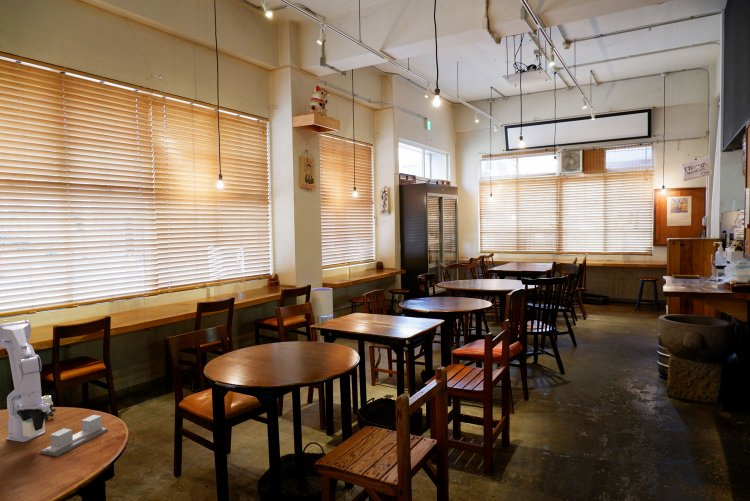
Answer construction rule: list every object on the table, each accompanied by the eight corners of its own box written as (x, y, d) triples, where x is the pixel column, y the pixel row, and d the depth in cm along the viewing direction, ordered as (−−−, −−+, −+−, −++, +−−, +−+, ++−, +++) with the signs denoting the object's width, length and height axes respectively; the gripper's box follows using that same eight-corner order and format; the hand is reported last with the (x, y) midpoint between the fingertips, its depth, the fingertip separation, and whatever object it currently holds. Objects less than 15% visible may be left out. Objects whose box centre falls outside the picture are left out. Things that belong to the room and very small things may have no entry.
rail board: (40, 453, 161) (39, 437, 161) (91, 428, 180) (90, 413, 180) (57, 456, 159) (55, 440, 158) (107, 430, 178) (106, 415, 177)
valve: (38, 412, 197) (36, 422, 188) (36, 397, 197) (35, 406, 187) (56, 408, 201) (56, 417, 191) (55, 393, 201) (55, 402, 191)
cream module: (23, 435, 163) (21, 421, 162) (37, 429, 167) (36, 415, 167) (31, 437, 161) (29, 422, 161) (45, 430, 166) (44, 416, 166)
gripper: (4, 393, 162) (8, 431, 163) (34, 397, 157) (37, 436, 158) (25, 386, 168) (28, 422, 169) (54, 390, 164) (57, 427, 165)
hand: (34, 428), depth 164 cm, fingers closed on cream module, 4 cm apart
